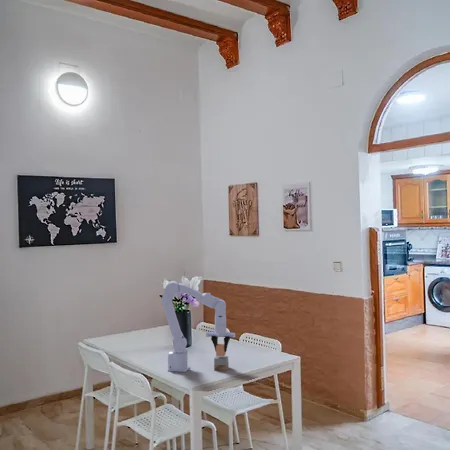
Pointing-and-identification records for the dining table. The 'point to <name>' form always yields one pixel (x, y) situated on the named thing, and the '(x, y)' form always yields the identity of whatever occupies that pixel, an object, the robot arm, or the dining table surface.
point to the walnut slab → (221, 367)
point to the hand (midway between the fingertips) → (220, 351)
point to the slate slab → (221, 360)
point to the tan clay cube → (220, 350)
